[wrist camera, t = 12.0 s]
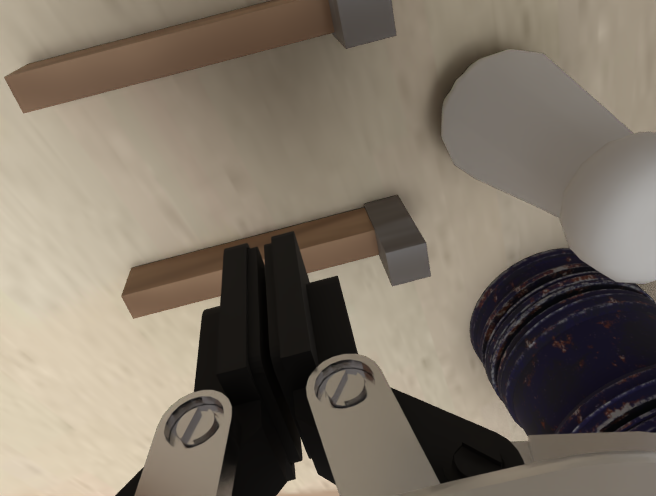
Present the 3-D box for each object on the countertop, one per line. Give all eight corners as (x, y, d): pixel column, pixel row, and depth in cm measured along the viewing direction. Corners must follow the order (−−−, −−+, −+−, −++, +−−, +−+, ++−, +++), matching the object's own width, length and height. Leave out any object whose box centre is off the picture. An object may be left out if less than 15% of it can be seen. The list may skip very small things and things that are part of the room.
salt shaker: (561, 50, 24) (830, 138, 13) (521, 167, 27) (715, 322, 16) (443, 32, 23) (626, 111, 12) (413, 155, 26) (540, 313, 15)
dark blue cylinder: (438, 310, 31) (572, 566, 18) (588, 214, 29) (856, 427, 16) (510, 397, 36) (656, 651, 23) (642, 320, 34) (884, 550, 21)
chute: (25, 58, 22) (-30, 87, 17) (360, -29, 22) (388, -22, 17) (143, 292, 28) (124, 356, 24) (402, 225, 28) (430, 276, 24)
